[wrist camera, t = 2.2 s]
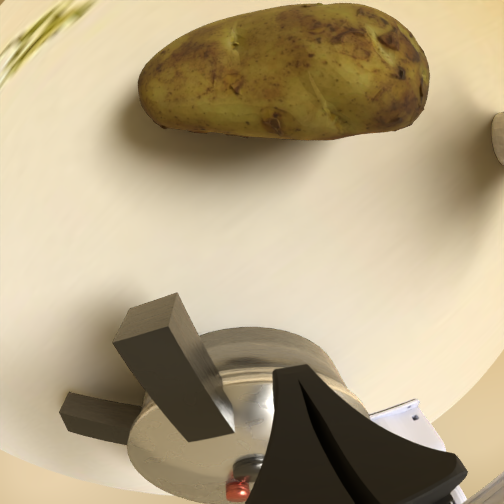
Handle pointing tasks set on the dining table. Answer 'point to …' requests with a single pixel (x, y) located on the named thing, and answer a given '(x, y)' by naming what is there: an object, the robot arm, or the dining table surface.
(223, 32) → the potato
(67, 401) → the pot
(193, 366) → the lid
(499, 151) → the house plant
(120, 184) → the dining table surface
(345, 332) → the dining table surface
